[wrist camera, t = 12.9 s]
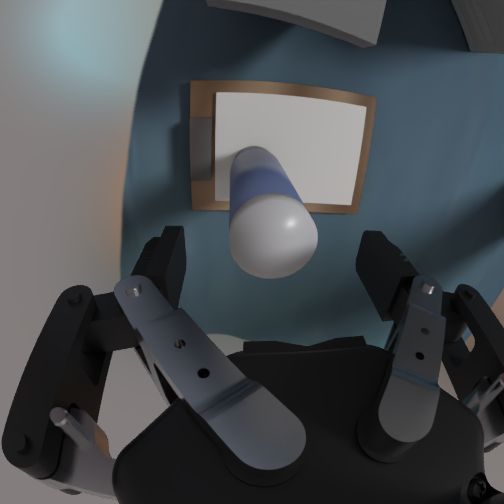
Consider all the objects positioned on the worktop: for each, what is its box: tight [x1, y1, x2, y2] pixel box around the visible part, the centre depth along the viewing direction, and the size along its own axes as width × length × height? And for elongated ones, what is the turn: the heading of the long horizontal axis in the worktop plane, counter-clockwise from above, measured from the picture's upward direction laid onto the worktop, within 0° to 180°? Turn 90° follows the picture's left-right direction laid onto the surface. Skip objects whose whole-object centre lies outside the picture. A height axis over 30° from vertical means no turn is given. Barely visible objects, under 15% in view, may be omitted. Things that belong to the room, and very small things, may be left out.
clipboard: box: [190, 80, 377, 214], centre depth 22 cm, size 15×11×2 cm
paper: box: [215, 92, 367, 205], centre depth 22 cm, size 12×9×1 cm
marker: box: [229, 146, 318, 279], centre depth 17 cm, size 4×4×12 cm
